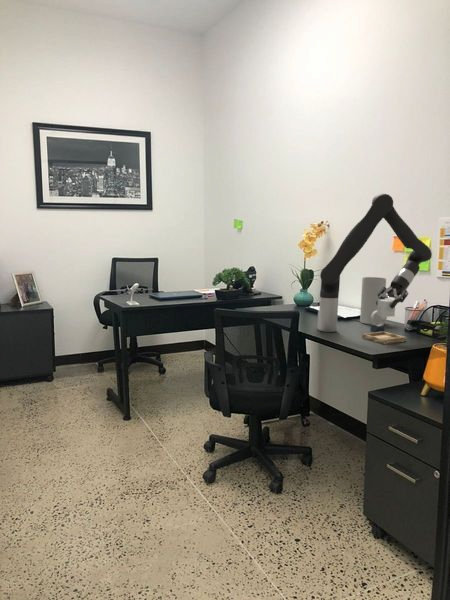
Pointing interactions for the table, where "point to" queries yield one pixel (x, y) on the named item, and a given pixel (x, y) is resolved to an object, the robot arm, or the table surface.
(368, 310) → the cylinder vase
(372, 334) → the tray
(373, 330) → the watch
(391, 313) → the skincare box
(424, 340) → the table surface
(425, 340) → the table surface
